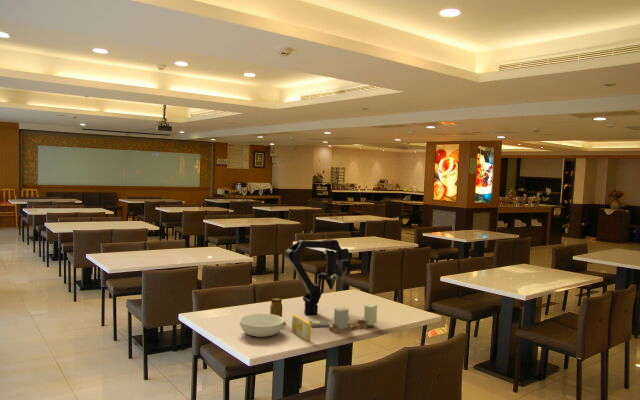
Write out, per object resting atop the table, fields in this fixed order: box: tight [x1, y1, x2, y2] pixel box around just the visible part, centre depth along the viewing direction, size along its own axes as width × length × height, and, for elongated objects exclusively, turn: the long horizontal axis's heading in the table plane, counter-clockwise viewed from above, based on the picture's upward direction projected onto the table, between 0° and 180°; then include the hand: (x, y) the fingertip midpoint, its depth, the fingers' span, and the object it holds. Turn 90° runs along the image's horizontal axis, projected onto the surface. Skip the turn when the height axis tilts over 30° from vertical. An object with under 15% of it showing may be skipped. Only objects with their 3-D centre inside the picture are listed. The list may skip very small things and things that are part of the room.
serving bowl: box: [239, 313, 285, 338], centre depth 229 cm, size 21×21×7 cm
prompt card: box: [308, 320, 331, 329], centre depth 244 cm, size 10×7×2 cm
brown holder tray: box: [328, 318, 372, 334], centre depth 241 cm, size 25×9×4 cm, turn 127°
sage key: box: [363, 302, 378, 326], centre depth 243 cm, size 4×6×9 cm
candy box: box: [291, 314, 312, 342], centre depth 227 cm, size 16×2×8 cm, turn 30°
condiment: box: [269, 297, 287, 325], centre depth 248 cm, size 7×8×12 cm
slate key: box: [333, 306, 350, 329], centre depth 235 cm, size 4×6×9 cm
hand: (331, 289), depth 270 cm, fingers closed
